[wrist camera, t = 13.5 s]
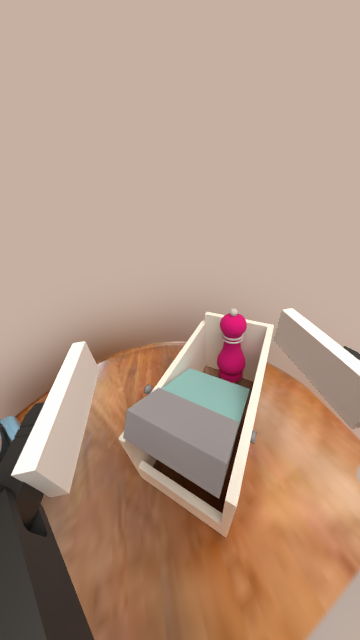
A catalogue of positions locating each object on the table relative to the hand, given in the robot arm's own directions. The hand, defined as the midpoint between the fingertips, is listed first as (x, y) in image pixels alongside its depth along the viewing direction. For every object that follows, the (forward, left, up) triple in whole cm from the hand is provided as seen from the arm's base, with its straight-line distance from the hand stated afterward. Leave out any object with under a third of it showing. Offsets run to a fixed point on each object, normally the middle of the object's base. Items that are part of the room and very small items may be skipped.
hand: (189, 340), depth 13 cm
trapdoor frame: (-3, +14, -39) cm, 41 cm away
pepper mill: (-2, +26, -34) cm, 43 cm away
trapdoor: (-3, +7, -25) cm, 26 cm away
